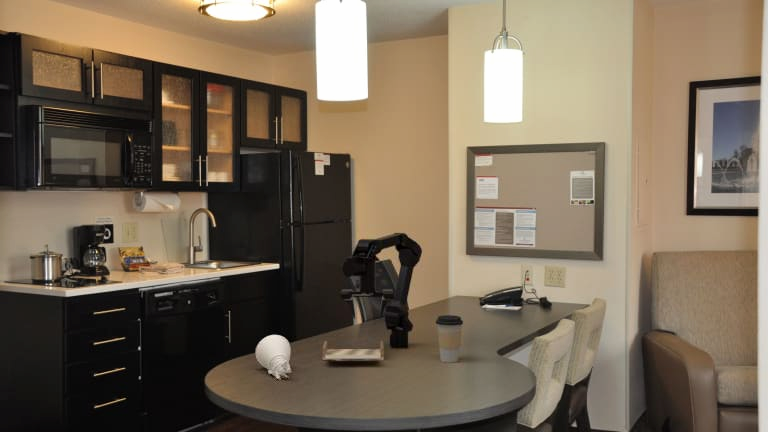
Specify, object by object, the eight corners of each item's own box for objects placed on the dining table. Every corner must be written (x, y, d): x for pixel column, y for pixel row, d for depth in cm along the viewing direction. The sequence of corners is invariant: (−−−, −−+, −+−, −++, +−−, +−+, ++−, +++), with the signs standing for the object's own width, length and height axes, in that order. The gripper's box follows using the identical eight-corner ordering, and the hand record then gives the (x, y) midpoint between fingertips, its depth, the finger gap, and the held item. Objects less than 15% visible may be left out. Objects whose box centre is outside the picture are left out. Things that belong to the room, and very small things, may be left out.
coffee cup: (465, 358, 251) (465, 315, 250) (459, 364, 242) (459, 320, 241) (439, 356, 254) (439, 314, 253) (432, 362, 245) (432, 318, 244)
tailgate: (379, 354, 247) (379, 354, 238) (379, 359, 247) (379, 360, 238) (326, 355, 247) (325, 354, 238) (326, 360, 246) (325, 360, 238)
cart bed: (382, 352, 260) (382, 340, 260) (383, 360, 248) (383, 348, 248) (324, 352, 260) (324, 341, 260) (322, 360, 248) (322, 348, 247)
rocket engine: (287, 350, 219) (276, 327, 235) (257, 376, 218) (248, 351, 234) (309, 375, 224) (297, 351, 240) (280, 400, 222) (270, 374, 239)
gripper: (393, 272, 263) (393, 314, 264) (341, 272, 263) (341, 314, 263) (394, 275, 252) (394, 320, 253) (340, 275, 252) (340, 320, 252)
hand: (367, 318), depth 256 cm, fingers open, 9 cm apart
